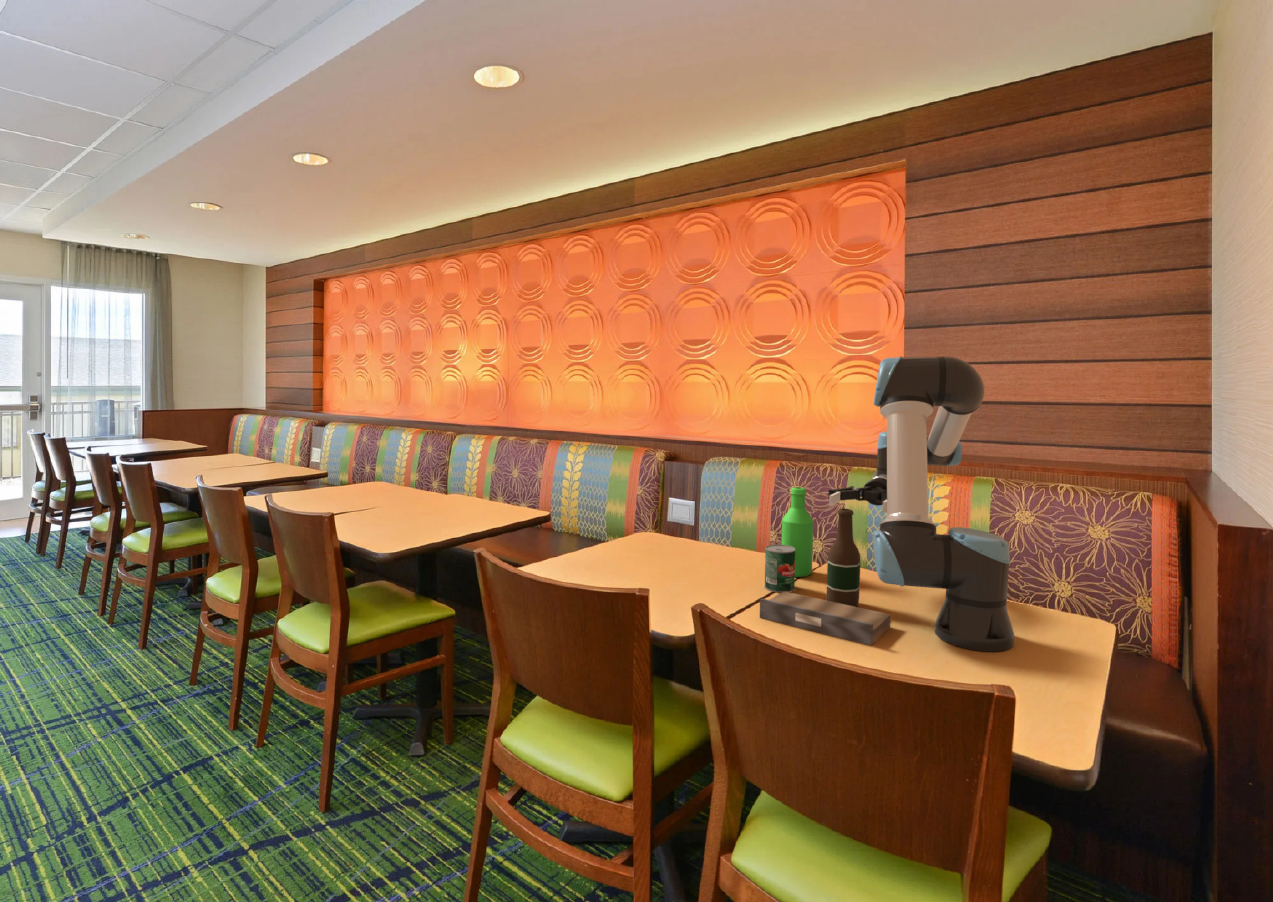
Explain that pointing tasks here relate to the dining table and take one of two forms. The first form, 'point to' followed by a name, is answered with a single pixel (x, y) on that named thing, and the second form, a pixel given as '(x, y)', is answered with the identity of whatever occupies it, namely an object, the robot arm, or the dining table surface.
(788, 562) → the canned tomato
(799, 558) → the bottle
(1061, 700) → the dining table surface
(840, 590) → the beer bottle
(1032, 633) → the dining table surface
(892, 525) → the robot arm
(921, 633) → the dining table surface
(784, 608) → the shelf
